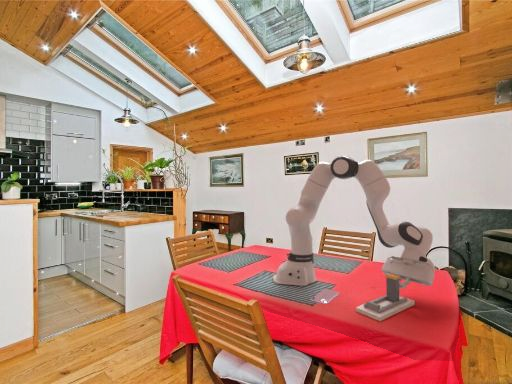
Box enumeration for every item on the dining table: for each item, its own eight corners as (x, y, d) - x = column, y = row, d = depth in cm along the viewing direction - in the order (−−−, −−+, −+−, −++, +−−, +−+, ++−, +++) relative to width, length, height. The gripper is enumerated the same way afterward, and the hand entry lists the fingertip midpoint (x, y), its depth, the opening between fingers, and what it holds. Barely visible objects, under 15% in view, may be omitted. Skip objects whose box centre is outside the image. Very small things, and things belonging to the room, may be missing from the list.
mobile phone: (340, 291, 126) (326, 302, 114) (340, 293, 126) (326, 305, 114) (324, 288, 131) (309, 298, 119) (324, 290, 131) (309, 300, 119)
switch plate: (391, 296, 120) (390, 287, 120) (414, 304, 112) (414, 294, 112) (356, 311, 107) (355, 301, 107) (379, 321, 99) (379, 310, 99)
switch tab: (389, 297, 115) (389, 273, 115) (399, 300, 111) (399, 276, 111) (386, 299, 113) (385, 274, 113) (396, 302, 110) (395, 277, 110)
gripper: (386, 251, 128) (374, 276, 123) (434, 260, 111) (422, 290, 105) (391, 259, 130) (380, 284, 125) (439, 269, 113) (428, 299, 108)
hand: (399, 287), depth 115 cm, fingers closed
